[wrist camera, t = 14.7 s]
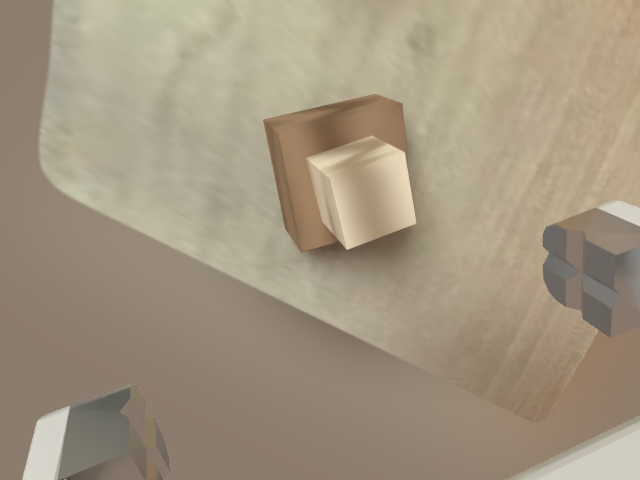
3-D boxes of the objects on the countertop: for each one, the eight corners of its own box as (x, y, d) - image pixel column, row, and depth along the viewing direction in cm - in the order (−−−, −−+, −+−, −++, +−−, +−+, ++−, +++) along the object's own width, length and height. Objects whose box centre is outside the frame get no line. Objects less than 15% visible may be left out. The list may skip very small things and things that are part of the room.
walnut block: (373, 93, 40) (402, 103, 35) (384, 199, 44) (411, 220, 39) (262, 118, 38) (278, 132, 33) (284, 227, 42) (301, 252, 37)
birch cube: (372, 135, 35) (404, 152, 31) (384, 199, 38) (416, 223, 33) (305, 158, 35) (329, 178, 30) (322, 221, 37) (346, 249, 33)
